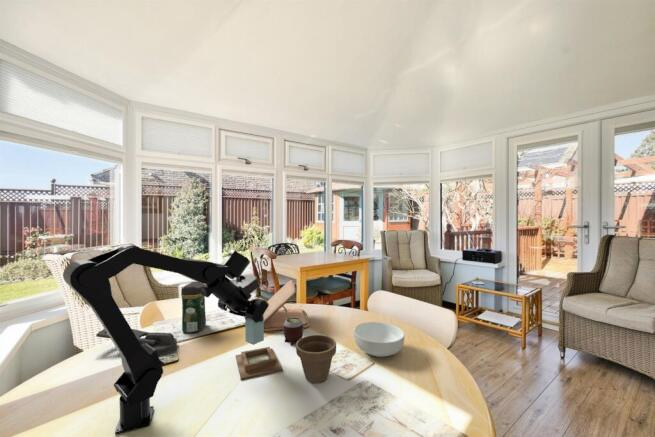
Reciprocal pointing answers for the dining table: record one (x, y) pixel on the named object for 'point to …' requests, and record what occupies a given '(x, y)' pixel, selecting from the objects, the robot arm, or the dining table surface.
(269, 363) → the picture frame
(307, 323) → the case
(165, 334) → the zipper pull
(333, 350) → the flower pot
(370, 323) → the cereal bowl
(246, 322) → the pale blue rectangular block
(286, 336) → the mate gourd
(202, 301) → the coffee jar
